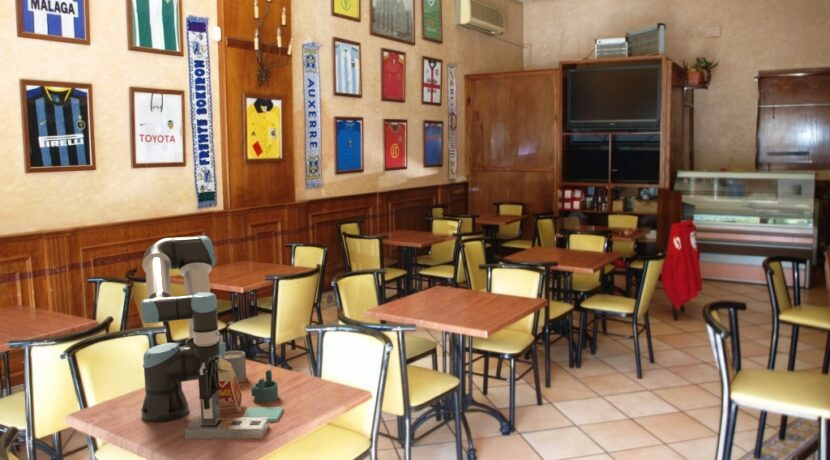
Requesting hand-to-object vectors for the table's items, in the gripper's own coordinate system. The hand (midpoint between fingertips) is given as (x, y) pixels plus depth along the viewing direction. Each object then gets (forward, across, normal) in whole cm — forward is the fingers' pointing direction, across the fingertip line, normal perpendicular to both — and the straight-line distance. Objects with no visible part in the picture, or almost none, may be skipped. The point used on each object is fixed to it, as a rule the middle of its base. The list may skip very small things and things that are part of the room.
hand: (211, 414), depth 219 cm
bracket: (+6, +29, -10) cm, 31 cm away
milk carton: (+5, +21, +1) cm, 21 cm away
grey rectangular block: (+5, 0, 0) cm, 5 cm away
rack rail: (+6, 0, -5) cm, 8 cm away
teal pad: (+6, +13, -13) cm, 19 cm away
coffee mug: (+6, +51, +7) cm, 52 cm away
